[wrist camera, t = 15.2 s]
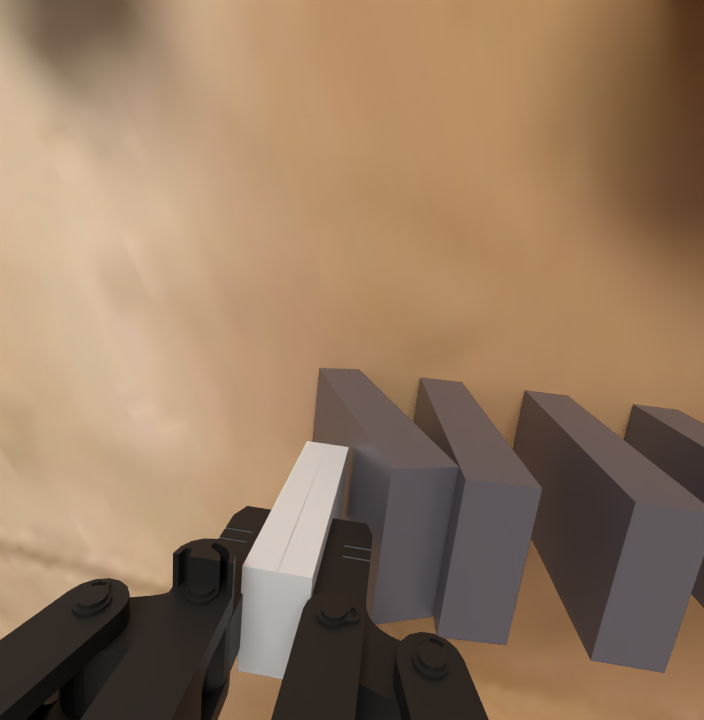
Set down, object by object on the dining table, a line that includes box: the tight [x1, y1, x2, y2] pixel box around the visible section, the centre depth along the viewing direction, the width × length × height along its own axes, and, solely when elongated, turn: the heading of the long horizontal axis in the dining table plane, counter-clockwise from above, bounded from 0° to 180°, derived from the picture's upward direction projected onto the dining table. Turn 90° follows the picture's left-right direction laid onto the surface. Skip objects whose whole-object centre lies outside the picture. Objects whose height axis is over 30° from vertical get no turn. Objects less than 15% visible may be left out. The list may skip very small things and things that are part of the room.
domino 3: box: [513, 390, 704, 673], centre depth 17 cm, size 2×5×10 cm, turn 174°
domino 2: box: [414, 378, 542, 645], centre depth 17 cm, size 2×5×10 cm, turn 174°
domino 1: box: [313, 368, 459, 624], centre depth 17 cm, size 2×5×10 cm, turn 174°
